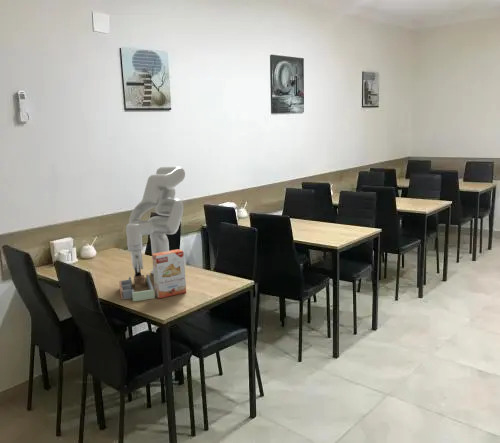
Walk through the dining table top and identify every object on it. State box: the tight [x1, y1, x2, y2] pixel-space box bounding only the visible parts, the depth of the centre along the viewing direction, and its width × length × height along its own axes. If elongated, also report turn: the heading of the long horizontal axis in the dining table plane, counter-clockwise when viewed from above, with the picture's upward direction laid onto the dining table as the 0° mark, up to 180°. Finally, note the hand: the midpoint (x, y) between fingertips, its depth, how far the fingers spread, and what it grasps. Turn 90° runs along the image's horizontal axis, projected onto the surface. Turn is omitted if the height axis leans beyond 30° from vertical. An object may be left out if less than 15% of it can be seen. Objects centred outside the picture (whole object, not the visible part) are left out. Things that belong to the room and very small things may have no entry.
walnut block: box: [133, 274, 146, 289], centre depth 247 cm, size 5×5×5 cm
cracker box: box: [151, 248, 187, 299], centre depth 230 cm, size 14×6×21 cm, turn 122°
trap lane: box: [118, 274, 156, 302], centre depth 238 cm, size 15×27×4 cm, turn 17°
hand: (138, 281), depth 252 cm, fingers closed
